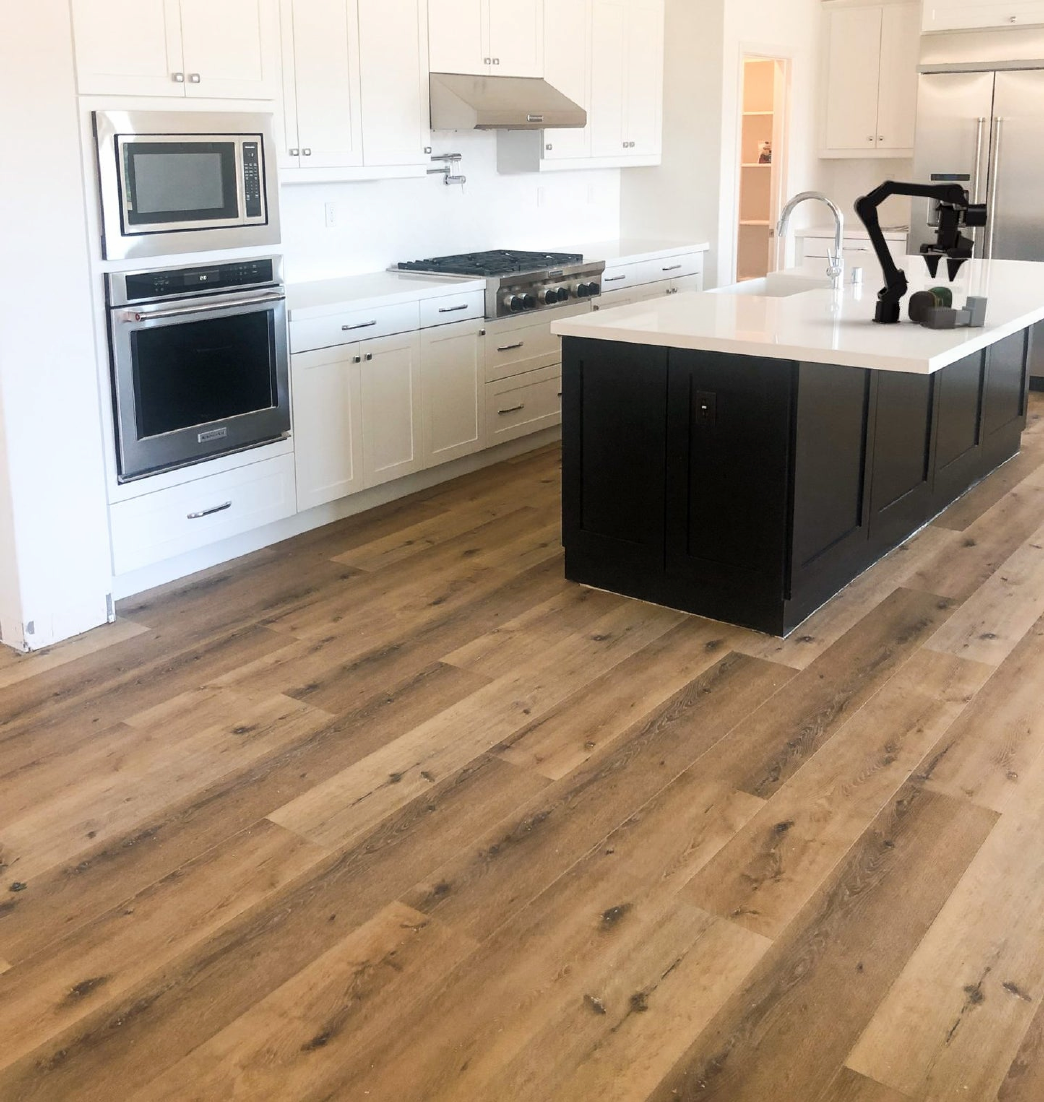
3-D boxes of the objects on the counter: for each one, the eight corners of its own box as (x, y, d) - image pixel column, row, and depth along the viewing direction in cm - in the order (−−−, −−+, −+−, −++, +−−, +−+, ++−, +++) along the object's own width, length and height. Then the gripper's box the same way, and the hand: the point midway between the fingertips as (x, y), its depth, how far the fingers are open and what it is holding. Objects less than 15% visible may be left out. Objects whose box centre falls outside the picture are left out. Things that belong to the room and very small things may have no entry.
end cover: (953, 327, 361) (957, 299, 358) (942, 324, 366) (945, 297, 363) (985, 325, 363) (988, 298, 361) (973, 323, 368) (977, 295, 366)
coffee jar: (929, 285, 381) (907, 290, 368) (954, 287, 377) (932, 292, 363) (926, 316, 384) (904, 322, 371) (951, 318, 380) (929, 325, 366)
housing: (934, 329, 358) (936, 310, 356) (920, 325, 365) (922, 307, 363) (954, 328, 360) (956, 309, 358) (940, 325, 366) (943, 306, 364)
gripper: (991, 228, 354) (984, 282, 359) (953, 224, 371) (947, 275, 376) (958, 229, 351) (951, 284, 356) (921, 224, 368) (915, 276, 373)
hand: (942, 280), depth 365 cm, fingers open, 9 cm apart
